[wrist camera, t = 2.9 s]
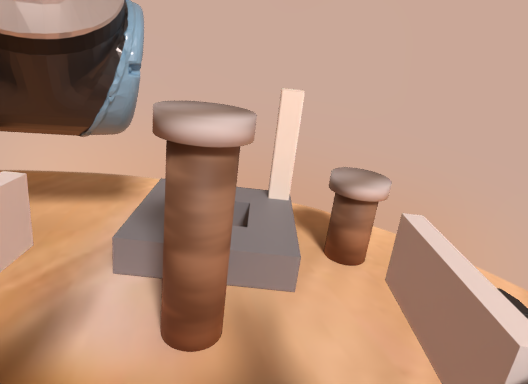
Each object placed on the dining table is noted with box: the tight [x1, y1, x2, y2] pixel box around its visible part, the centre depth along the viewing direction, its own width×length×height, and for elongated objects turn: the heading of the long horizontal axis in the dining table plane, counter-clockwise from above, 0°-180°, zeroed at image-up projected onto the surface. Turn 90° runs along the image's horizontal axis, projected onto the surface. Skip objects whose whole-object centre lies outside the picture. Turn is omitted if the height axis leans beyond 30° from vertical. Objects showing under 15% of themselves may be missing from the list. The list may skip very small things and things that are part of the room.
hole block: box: [112, 88, 305, 292], centre depth 38 cm, size 16×16×16 cm
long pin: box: [153, 101, 257, 352], centre depth 25 cm, size 6×6×16 cm
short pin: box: [324, 167, 392, 265], centre depth 40 cm, size 6×6×9 cm
